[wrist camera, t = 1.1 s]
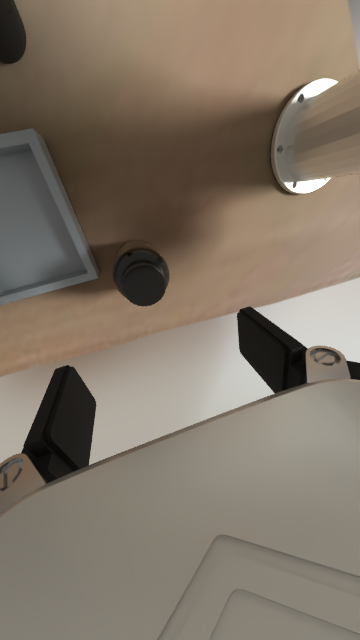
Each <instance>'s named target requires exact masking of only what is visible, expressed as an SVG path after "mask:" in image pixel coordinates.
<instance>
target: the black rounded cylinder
mask: <svg viewBox="0 0 360 640" xmlns="http://www.w3.org/2000/svg"><path fill="white" fill-rule="evenodd" d="M25 47H26V34H25V29H24V26H23V22H22V20H21V17H20V15H19V12H18V10H17V7H16V5H15V2H14V0H0V62H3V63H14V62H16V61H18V60H19V59H20V58H21V57H22V56H23V54H24V51H25Z"/></svg>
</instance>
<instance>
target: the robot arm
mask: <svg viewBox="0 0 360 640" xmlns="http://www.w3.org/2000/svg"><path fill="white" fill-rule="evenodd" d="M271 162H272V168H273V172H274V175H275V177H276V180H277V181H278V183H279V184H280V185H281V187H282V188H284V189H285V190H286V191H288V192H290V193H294V194H305V193H309V192H312V191H314V190H316V189H318V188H320V187H321V186H322V185H324V184H325V183H326V182H327V181H328V180H329V179H330V178H334V177H340V176H346V175H353V174H359V173H360V70H358V71H356V72H355V73H353V74H351V75H349V76H348V77H346V78H344V79H343V80H341V81H339V82H337V81H336V80H333V79H330V78H320V79H317V80H314V81H312V82H310V83H308V84H307V85H305V86H304V87H302V88H301V89H300V90H299V91H297V92H296V93H295V94H294V95H293V96H292V98H291V99H290V100H289V101H288V102H287V104H286V106H285V107H284V109H283V110H282V112H281V114H280V117H279V119H278V121H277V124H276V127H275V130H274V133H273V139H272V144H271ZM237 320H238V333H239V334H238V335H239V349H240V352H241V354H242V355H243V356H244V358H245V359H246V360H247V361H248V362H249V364H250V365H251V366H252V367H253V368H254V369H255V371H256V372H257V373H258V374H259V375H260V376H261V377H262V379H263V380H264V381H265V382H266V383H267V385H268V386H269V387H270V388H271V389H272V390H273V392H274V393H275V394H273V395H270V396H267V397H265V398H262V399H259V400H257V401H254V402H251V403H249V404H246V405H243V406H241V407H238V408H235V409H233V410H230V411H228V412H225V413H222V414H220V415H217V416H214V417H212V418H209V419H207V420H204V421H201V422H199V423H196V424H193V425H191V426H188V427H186V428H183V429H181V430H178V431H175V432H173V433H170V434H168V435H165V436H162V437H160V438H157V439H155V440H152V441H149V442H147V443H145V444H142V445H139V446H137V447H134V448H132V449H129V450H126V451H124V452H121V453H119V454H116V455H114V456H111V457H109V458H106V459H103V460H101V461H99V462H96V463H94V464H91V465H89V459H90V450H91V443H92V435H93V426H94V418H95V411H96V401H95V399H94V397H93V396H92V394H91V393H90V391H89V389H88V388H87V387H86V385H85V383H84V382H83V380H82V379H81V377H80V376H79V374H78V373H77V371H76V370H75V368H74V367H70V366H69V365H67V366H63V367H60V368H57V369H55V371H54V373H53V376H52V378H51V381H50V383H49V385H48V388H47V390H46V393H45V395H44V398H43V400H42V403H41V405H40V407H39V410H38V412H37V415H36V417H35V419H34V422H33V424H32V426H31V429H30V431H29V434H28V436H27V439H26V441H25V443H24V448H23V450H22V453H21V454H16V455H13V456H12V457H9V458H8V459H6V460H5V461H3V462H2V463H1V464H0V640H360V363H357V362H351V361H346V359H345V357H344V355H343V354H342V353H341V352H339V351H338V350H336V349H334V348H331V347H327V346H314V347H311V348H309V349H307V348H306V347H305V346H303V345H302V344H301V343H300V342H298V341H297V340H296V339H294V338H293V337H291V336H290V335H289V334H287V333H286V332H285V331H283V330H282V329H280V328H279V327H278V326H276V325H275V324H274V323H272V322H271V321H269V320H268V319H267V318H265V317H264V316H263V315H261V314H260V313H259V312H257V311H256V310H254V309H253V308H252V307H246V308H243V309H240V311H239V313H237Z"/></svg>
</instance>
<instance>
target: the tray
mask: <svg viewBox="0 0 360 640" xmlns="http://www.w3.org/2000/svg"><path fill="white" fill-rule="evenodd" d="M99 274H100V271H99V269H98V267H97V264H96V262H95V260H94V257H93V255H92V253H91V250H90V248H89V245H88V243H87V241H86V238H85V236H84V234H83V231H82V229H81V226H80V224H79V222H78V219H77V217H76V215H75V212H74V210H73V207H72V205H71V203H70V200H69V198H68V196H67V193H66V191H65V189H64V186H63V184H62V181H61V179H60V177H59V174H58V172H57V170H56V167H55V165H54V162H53V160H52V158H51V155H50V153H49V151H48V148H47V146H46V144H45V141H44V139H43V137H42V136H41V135H40V134H39V133H38V132H37V131H36V130H34V129H33V128H31V129H26V130H20V131H15V132H9V133H4V134H0V305H3V304H7V303H10V302H14V301H17V300H21V299H25V298H28V297H32V296H36V295H39V294H43V293H47V292H50V291H54V290H57V289H61V288H65V287H68V286H72V285H76V284H79V283H83V282H86V281H90V280H94V279H97V278H98V277H99Z"/></svg>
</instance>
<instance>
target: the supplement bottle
mask: <svg viewBox="0 0 360 640" xmlns="http://www.w3.org/2000/svg"><path fill="white" fill-rule="evenodd" d="M113 279H114V283H115V285H116V288H117V289H118V291H119V292H120V293H121V294H122V295H123V296H124V297H126V298H127V299H128V300H129V301H130V302H132V303H133V304H136V305H138V306H148V305H149V306H151V305H152V304H155V303H156V302H158V301H159V300H160V299H161V298H162V297H163V295H164V293H165V290H166V288H167V286H168V282H169V269H168V266H167V264H166V262H165V260H164V259H163V257H162V256H161V255H160V254H159V253H158V251H157V250H156V249H155V248H154V247H153V246H152V245H150V244H149V243H147V242H145V241H141V240H133V241H130V242H127V243H126V244H124V245H123V246H122V247H121V248H120V249H119V251H118V253H117V256H116V260H115V264H114V269H113Z"/></svg>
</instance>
